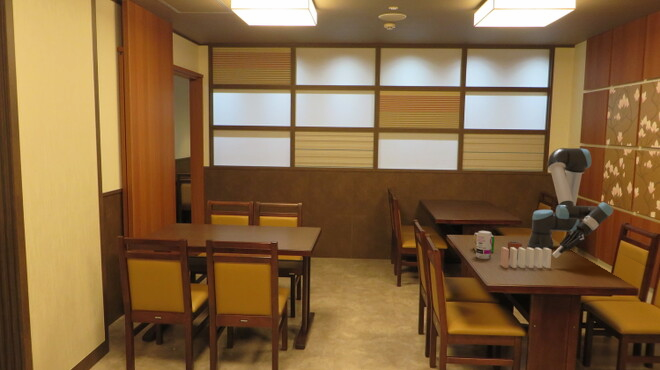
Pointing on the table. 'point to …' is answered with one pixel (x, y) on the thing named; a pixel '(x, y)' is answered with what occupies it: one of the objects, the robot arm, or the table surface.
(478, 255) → the supplement can
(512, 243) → the battery
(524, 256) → the domino
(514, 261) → the domino
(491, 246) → the puzzle cube
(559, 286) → the table surface
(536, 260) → the domino
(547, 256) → the domino
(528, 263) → the domino
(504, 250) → the domino
